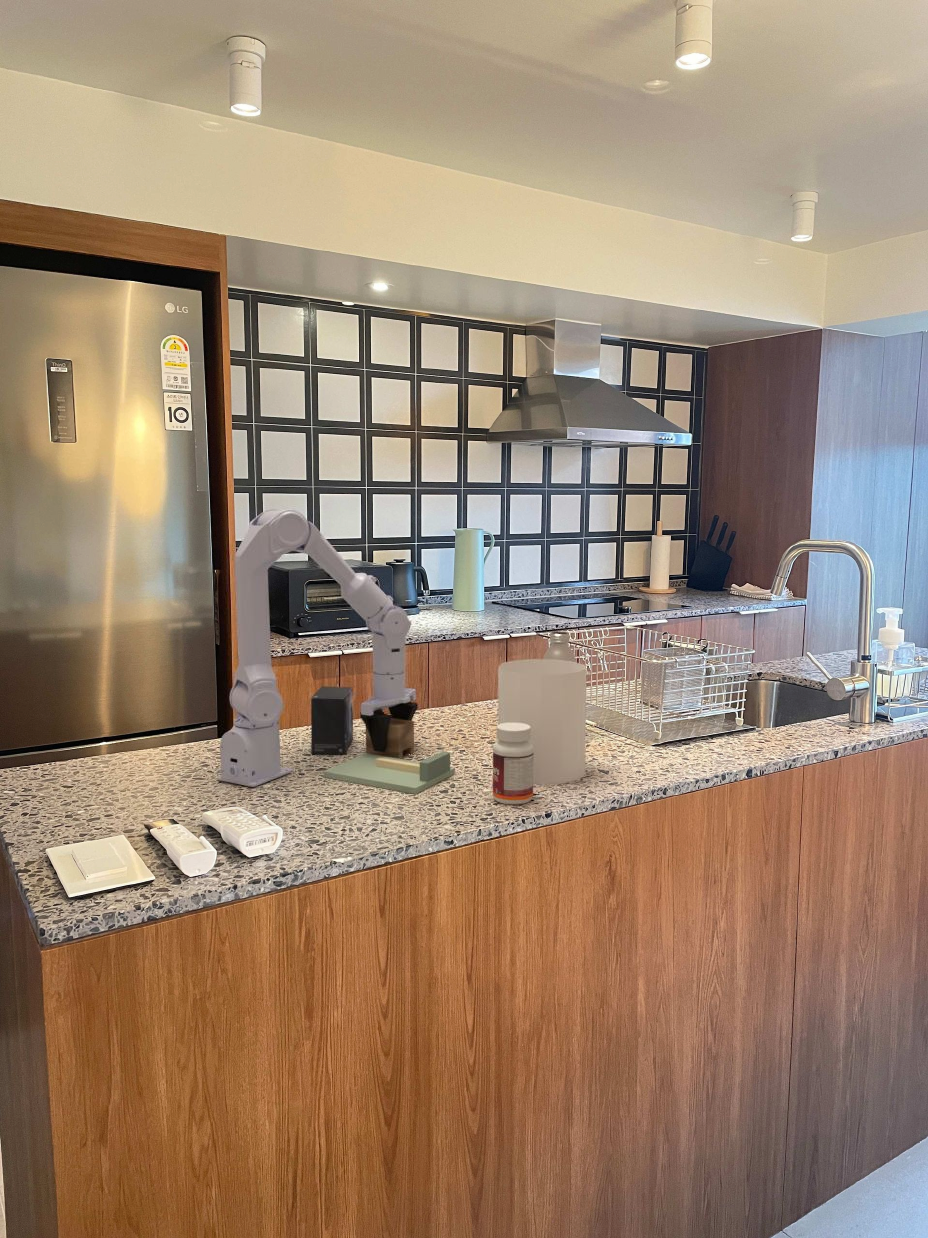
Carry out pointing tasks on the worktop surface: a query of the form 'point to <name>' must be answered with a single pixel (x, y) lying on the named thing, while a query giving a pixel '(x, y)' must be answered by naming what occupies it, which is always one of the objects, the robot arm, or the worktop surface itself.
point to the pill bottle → (513, 764)
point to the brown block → (395, 739)
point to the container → (547, 714)
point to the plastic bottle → (559, 647)
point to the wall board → (393, 772)
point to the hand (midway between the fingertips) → (390, 746)
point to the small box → (331, 720)
